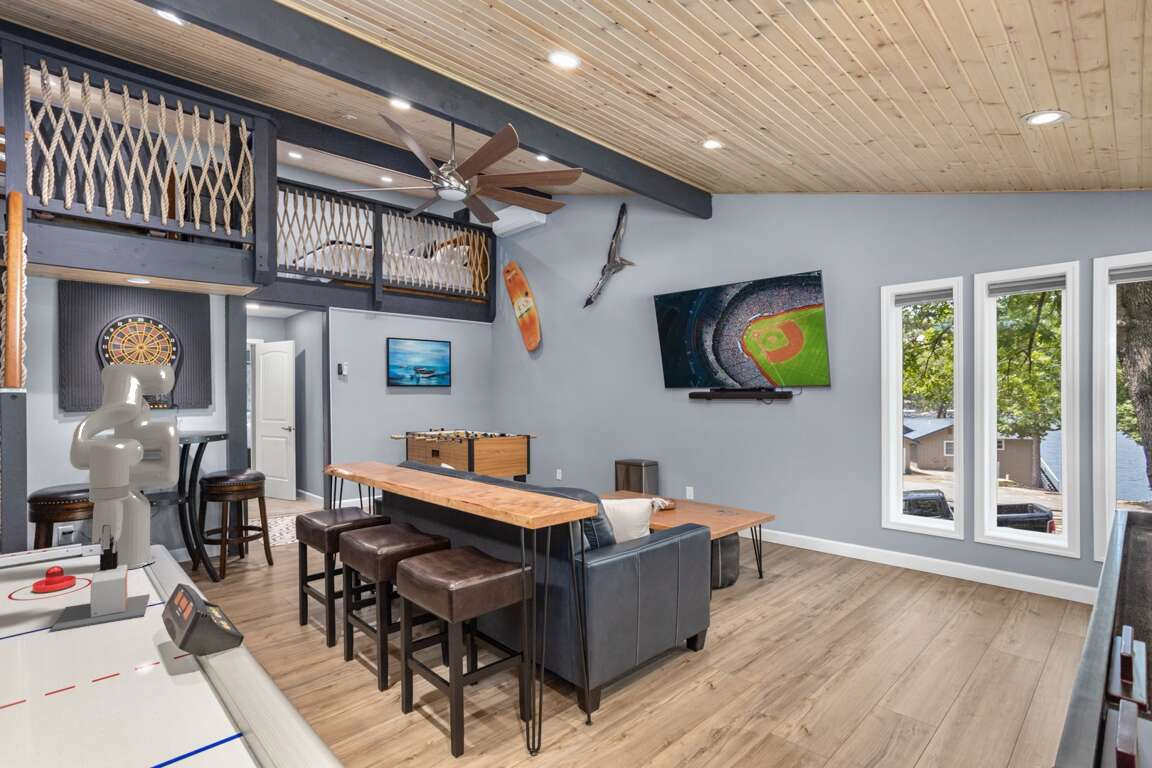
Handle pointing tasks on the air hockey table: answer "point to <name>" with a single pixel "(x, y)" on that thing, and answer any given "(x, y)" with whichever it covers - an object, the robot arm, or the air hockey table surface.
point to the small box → (109, 591)
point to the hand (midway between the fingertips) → (108, 569)
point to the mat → (82, 616)
